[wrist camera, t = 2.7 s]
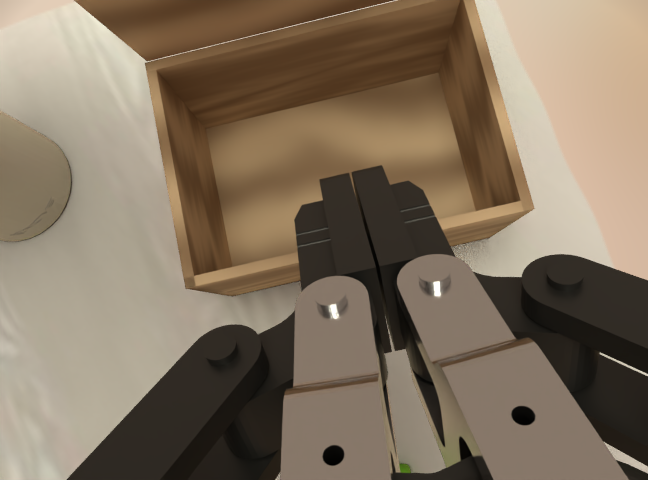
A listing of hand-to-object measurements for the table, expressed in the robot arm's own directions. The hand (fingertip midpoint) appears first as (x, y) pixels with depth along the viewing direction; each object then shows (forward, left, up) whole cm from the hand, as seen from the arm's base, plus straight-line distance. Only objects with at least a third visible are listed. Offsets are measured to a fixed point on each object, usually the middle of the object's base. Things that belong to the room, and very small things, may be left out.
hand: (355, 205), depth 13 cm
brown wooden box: (-7, +4, -29) cm, 30 cm away
